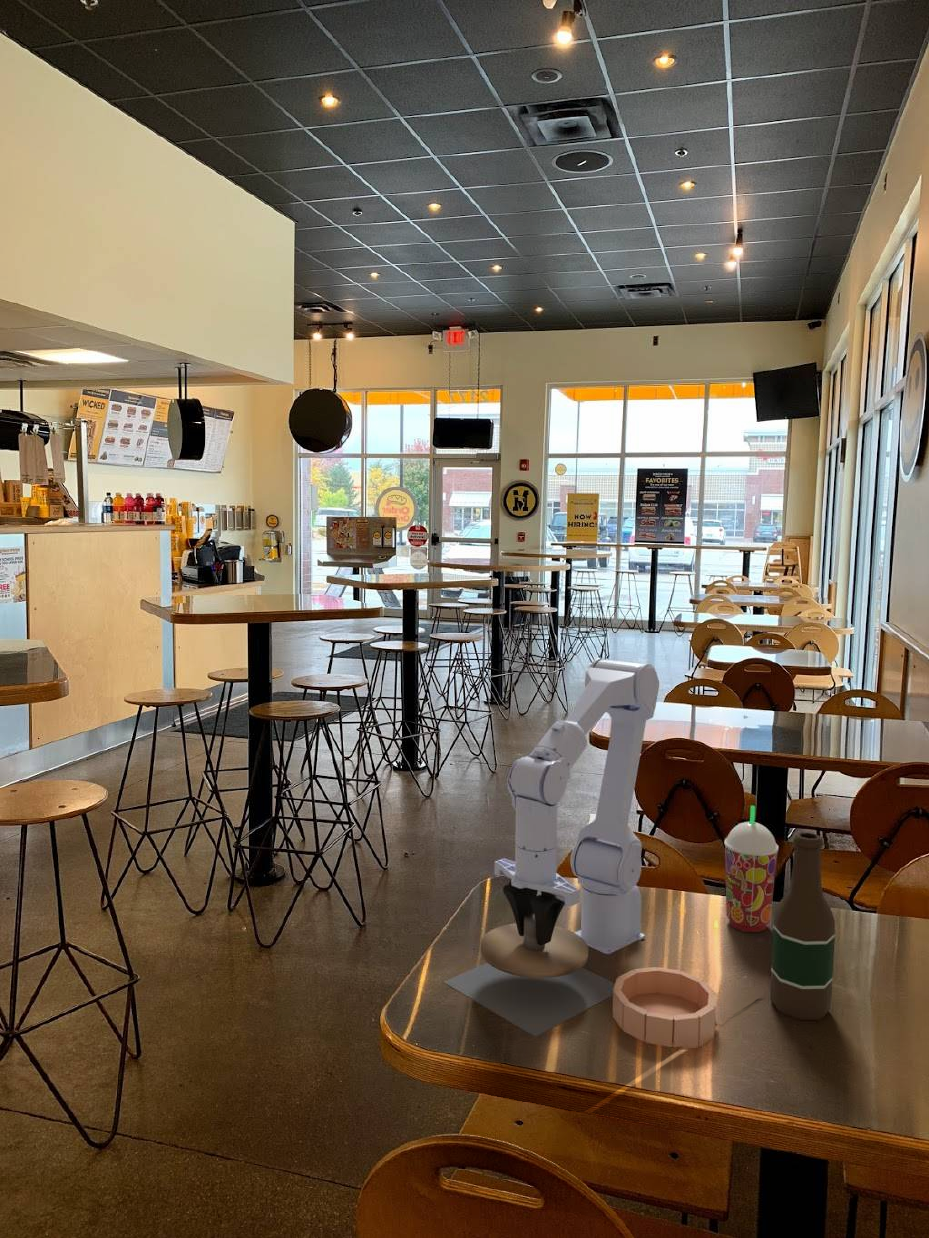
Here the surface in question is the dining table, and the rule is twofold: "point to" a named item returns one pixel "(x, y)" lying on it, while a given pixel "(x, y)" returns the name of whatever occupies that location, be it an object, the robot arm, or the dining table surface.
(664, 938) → the dining table surface
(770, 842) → the smoothie
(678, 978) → the bowl
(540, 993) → the mat
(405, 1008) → the dining table surface
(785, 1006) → the beer bottle
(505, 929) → the lid
